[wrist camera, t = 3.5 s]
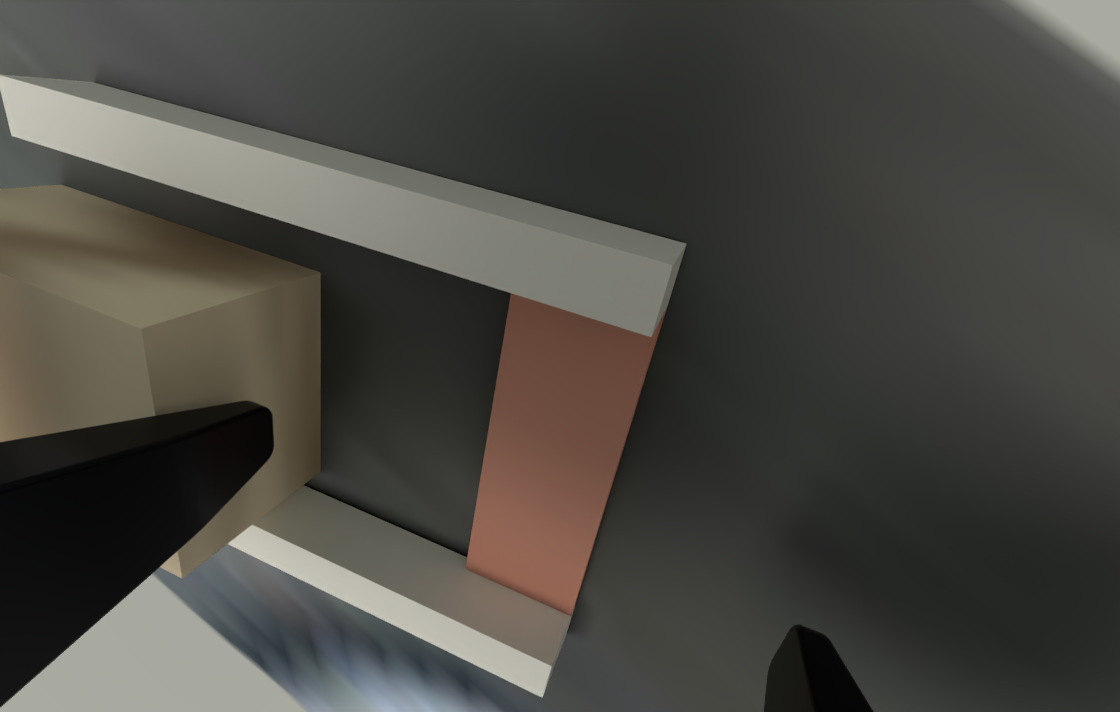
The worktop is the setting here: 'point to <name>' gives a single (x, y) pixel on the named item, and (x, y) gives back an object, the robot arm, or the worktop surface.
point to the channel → (522, 382)
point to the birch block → (155, 336)
